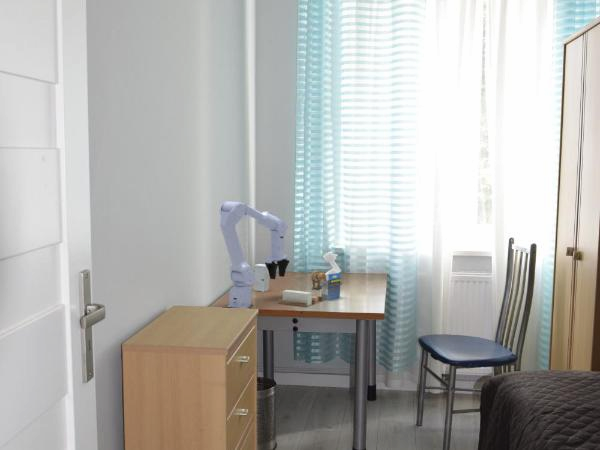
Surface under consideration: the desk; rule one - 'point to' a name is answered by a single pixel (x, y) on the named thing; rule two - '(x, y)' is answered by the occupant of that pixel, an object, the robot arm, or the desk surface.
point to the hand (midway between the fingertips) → (277, 277)
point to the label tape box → (331, 287)
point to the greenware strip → (298, 296)
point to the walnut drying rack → (300, 304)
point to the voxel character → (330, 258)
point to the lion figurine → (317, 278)
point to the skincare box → (261, 278)
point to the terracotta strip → (315, 298)
